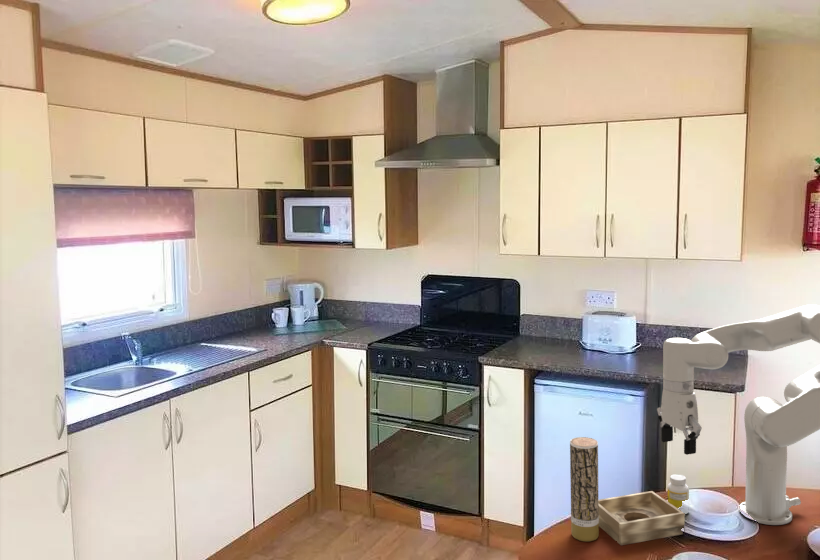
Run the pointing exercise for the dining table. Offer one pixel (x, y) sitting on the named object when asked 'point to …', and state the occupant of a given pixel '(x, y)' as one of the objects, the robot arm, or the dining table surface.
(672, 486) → the supplement bottle
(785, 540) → the dining table surface
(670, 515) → the pine box
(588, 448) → the brown bark cylinder
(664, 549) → the dining table surface
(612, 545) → the dining table surface
